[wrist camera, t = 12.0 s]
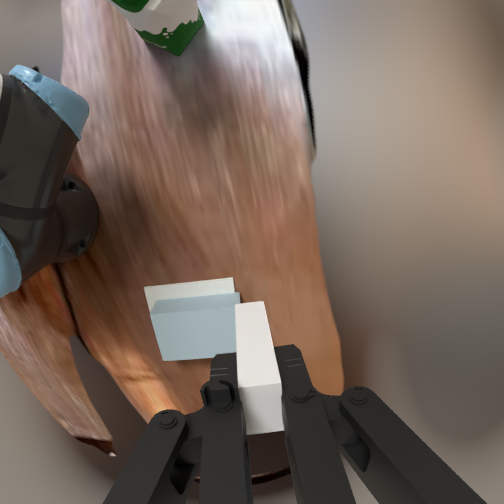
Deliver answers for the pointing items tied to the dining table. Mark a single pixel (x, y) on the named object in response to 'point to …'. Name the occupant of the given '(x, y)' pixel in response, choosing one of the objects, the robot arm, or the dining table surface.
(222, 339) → the slab
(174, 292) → the mat
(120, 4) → the milk carton
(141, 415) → the dining table surface
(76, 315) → the dining table surface
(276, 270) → the dining table surface
